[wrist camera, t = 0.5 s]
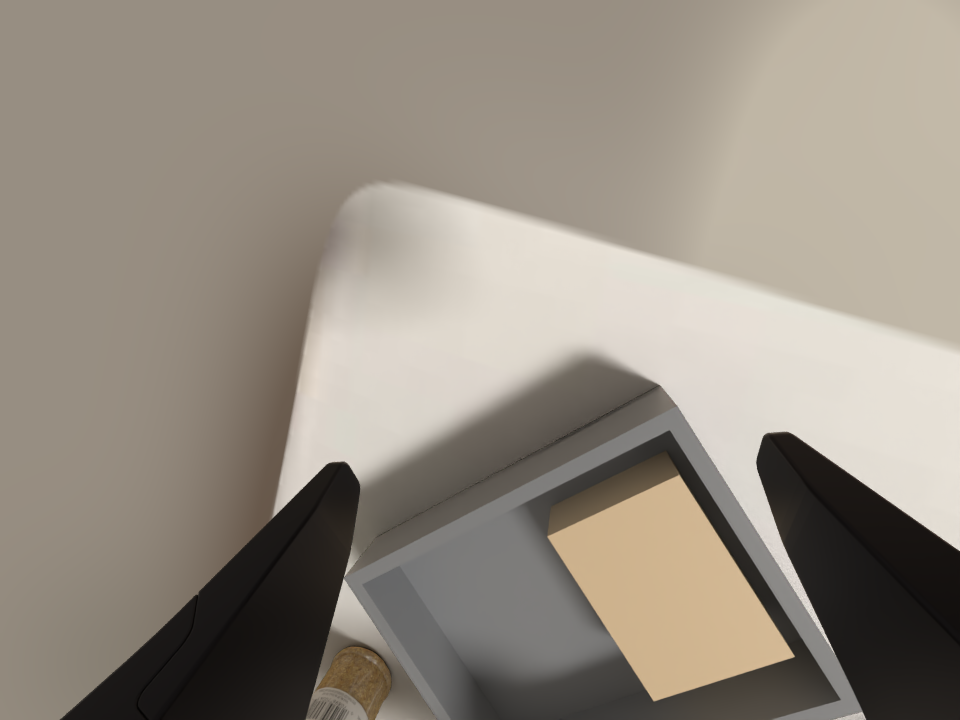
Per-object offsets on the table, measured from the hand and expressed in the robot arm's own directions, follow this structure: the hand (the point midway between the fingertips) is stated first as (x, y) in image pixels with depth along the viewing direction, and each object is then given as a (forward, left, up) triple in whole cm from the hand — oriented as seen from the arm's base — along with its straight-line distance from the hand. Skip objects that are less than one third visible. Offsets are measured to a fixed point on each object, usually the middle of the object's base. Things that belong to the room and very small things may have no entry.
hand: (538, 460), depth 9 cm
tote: (-12, +6, -14) cm, 20 cm away
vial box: (-12, +1, -14) cm, 18 cm away
